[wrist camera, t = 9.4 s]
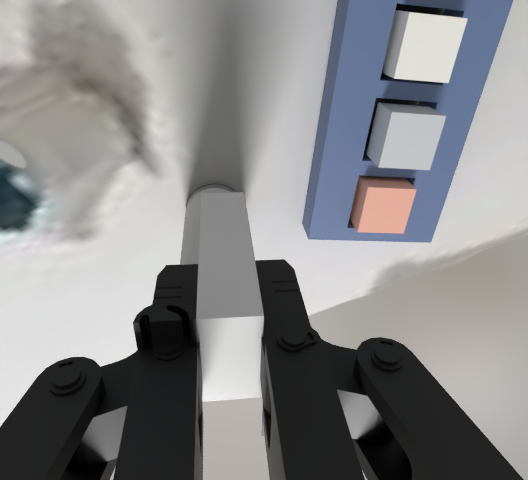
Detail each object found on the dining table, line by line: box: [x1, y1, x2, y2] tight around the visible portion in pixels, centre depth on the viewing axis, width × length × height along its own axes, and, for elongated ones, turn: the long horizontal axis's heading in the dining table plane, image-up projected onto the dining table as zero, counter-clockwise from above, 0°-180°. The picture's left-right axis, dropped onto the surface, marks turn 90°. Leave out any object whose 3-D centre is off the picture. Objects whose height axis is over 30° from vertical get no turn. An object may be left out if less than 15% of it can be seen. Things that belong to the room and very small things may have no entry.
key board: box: [302, 0, 513, 242], centre depth 42 cm, size 24×14×4 cm, turn 174°
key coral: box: [349, 175, 417, 234], centre depth 44 cm, size 5×5×4 cm
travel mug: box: [180, 184, 235, 265], centre depth 38 cm, size 6×7×20 cm
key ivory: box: [382, 10, 468, 83], centre depth 37 cm, size 5×5×4 cm
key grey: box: [366, 103, 446, 170], centre depth 39 cm, size 5×5×4 cm
